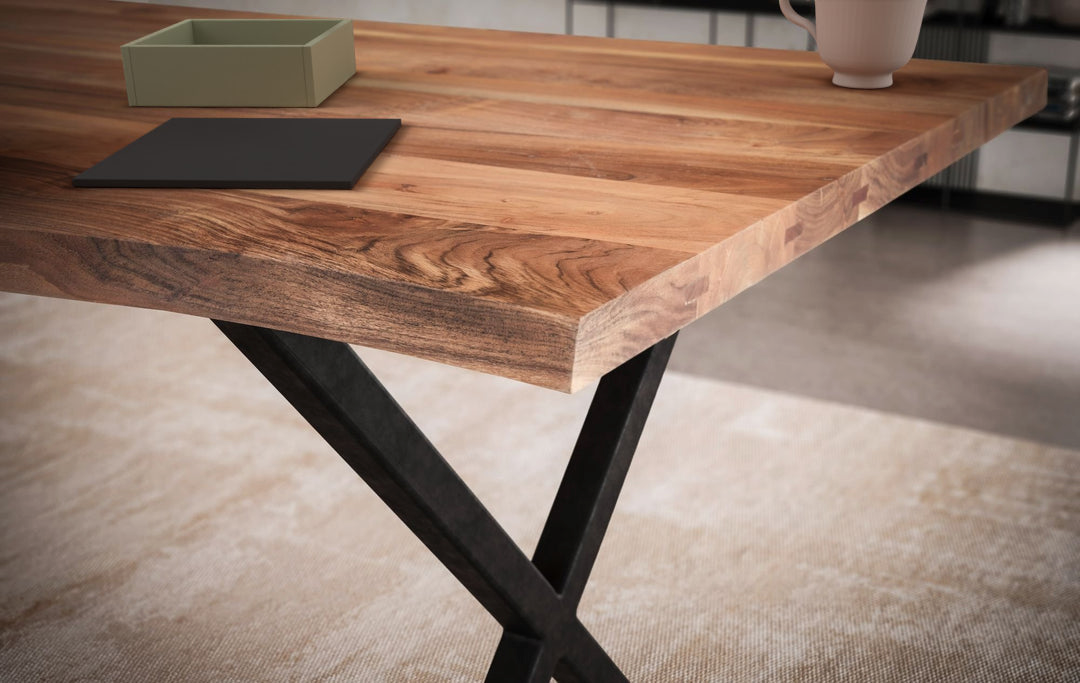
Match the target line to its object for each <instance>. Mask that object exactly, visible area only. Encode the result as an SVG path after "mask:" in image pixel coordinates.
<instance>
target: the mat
mask: <svg viewBox="0 0 1080 683" xmlns="http://www.w3.org/2000/svg"><path fill="white" fill-rule="evenodd" d="M402 124H403V123H402V118H378V117H377V118H376V117H375V118H372V117H371V118H366V117H365V118H360V117H357V118H356V117H355V118H354V117H353V118H350V117H345V118H343V117H342V118H341V117H338V118H337V117H312V118H311V117H171V118H169V119H168V120H166V121H164V122H162V123H161V124H159V125H157V126H156V127H154V128H153V129H151V130H150V131H148V132H145V134H143V135H141V136H140V137H138V138H137V139H135V140H133V141H132V142H130V143H128V144H127V145H125V146H123V147H122V148H120V149H117V151H115V152H113V153H112V154H110V155H109V156H107V157H105V158H104V159H102V160H100V161H99V162H97V163H95V164H94V165H92V166H90V167H88V168H87V169H86V170H84V171H83V172H81V173H79V174H77V175H76V176H74V177H73V178H71V182H72V187H74V188H78V187H80V188H172V189H173V188H174V189H175V188H177V189H178V188H179V189H180V188H181V189H182V188H183V189H186V188H187V189H282V190H283V189H284V190H285V189H286V190H287V189H288V190H291V189H293V190H295V189H297V190H298V189H299V190H352V189H353V187H354V186H355V185H356V184H357V182H358V181H359V180H360V179H361V177H362V176H363V175H364V173H365V172H366V171H367V170H368V169H369V167H370V166H371V165H372V164H373V162H374V161H375V160H376V158H377V157H378V156H379V154H380V153H381V152H382V151H383V150H384V148H386V146H387V144H388V143H389V142H390V140H392V138H393V137H394V136H395V134H396V133H397V132H398V131H399V129H400V128H401V126H402Z"/></svg>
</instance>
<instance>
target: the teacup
mask: <svg viewBox="0 0 1080 683" xmlns="http://www.w3.org/2000/svg"><path fill="white" fill-rule="evenodd" d="M806 1H807V2H809V1H811V0H806ZM778 2H779V3H778V4H779V7H780V10H781V12H782V15H784V17H785V18H786V19H787V20H788V21H789V22H791V23H792V24H794V25H795V26H799V27H800V28H802V29H805V30H806V31H807V32H808V33H809V34H810V35H811V36H812V38H813V39H814V41H815V43H816V45H817V46H816V47H817V51H818V56H819V58H820V60H821V61H822V62H823V63H824V64H825V65H826V66H827V67H828V68H830V69H832V71H834V72H833V73H834V74H833V77H832V84H834V85H836V86H837V87H838V86H839V87H843V88H849V89H861V90H863V89H864V90H867V89H868V90H872V89H873V90H874V89H875V90H876V89H884V88H889V87H890V86H892V85H893V74H894V72H896V71H898V70H900V69H902V68H903V67H904V66H905V65H907V64H908V63H909V61H910V60H911V59H912V57H913V55H914V52H915V49H916V47H917V44H918V40H919V36H920V31H921V27H922V23H923V18H924V14H925V9H926V7H927V2H928V0H814V6H815V25H814V23H813V22H811V21H810V20H808V19H807V18H805V17H803V16H801V15H800V14H798V13H797V12H796V11H795V10H794V9H793V7H792V5H791V4H790V0H779V1H778Z"/></svg>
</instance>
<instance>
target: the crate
mask: <svg viewBox="0 0 1080 683" xmlns="http://www.w3.org/2000/svg"><path fill="white" fill-rule="evenodd" d="M354 32H355V31H354V19H353V18H186V19H184V20H182V21H179V22H177V23H174V24H172V25H170V26H167V27H165V28H161V29H160V30H157V31H154V32H152V33H149V34H147V35H144V36H142V37H140V38H138V39H135V40H132V41H130V42H127V43H124V44H122V45H120V54H121V59H122V67H123V74H124V79H125V86H126V94H127V100H128V106H129V107H162V108H163V107H164V108H165V107H166V108H167V107H174V108H176V107H177V108H178V107H179V108H180V107H183V108H185V107H187V108H188V107H192V108H193V107H195V108H198V107H199V108H200V107H201V108H203V107H204V108H205V107H206V108H229V107H230V108H317V107H318V106H319V105H321V103H323V102H324V101H325V100H326V99H327V98H328V97H330V96H331V95H332V94H333V93H335V92H336V91H337V90H338V89H339V88H340V87H341V86H343V84H345V83H346V82H347V81H349V79H350V78H352V77H353V76H354V75H355V74H357V62H356V61H357V60H356V59H357V58H356V47H355V46H356V45H355V33H354Z"/></svg>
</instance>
